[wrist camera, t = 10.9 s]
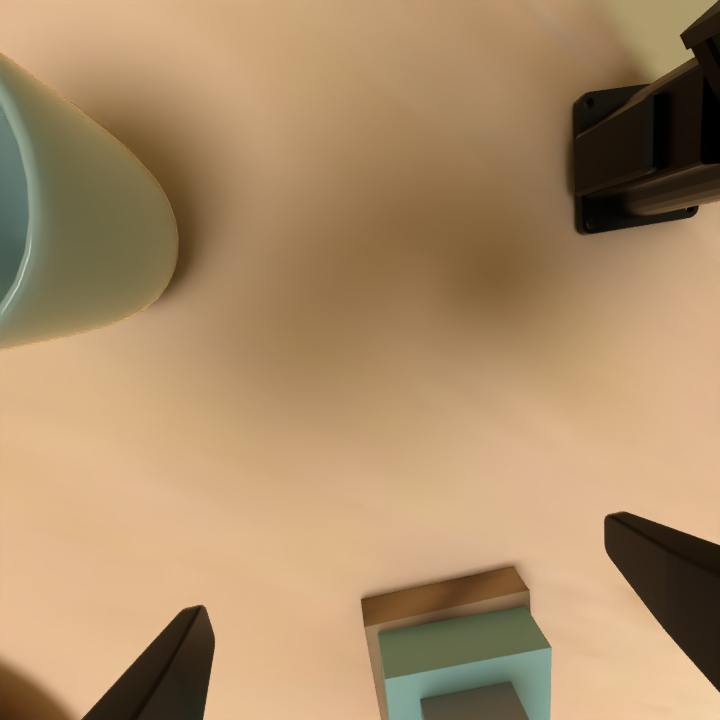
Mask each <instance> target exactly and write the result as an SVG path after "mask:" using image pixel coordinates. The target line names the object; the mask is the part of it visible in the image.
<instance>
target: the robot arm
mask: <svg viewBox="0 0 720 720" xmlns="http://www.w3.org/2000/svg"><path fill="white" fill-rule="evenodd" d="M680 37H681V39H682V41H683V43H684V45H685V47H686V49H687V50H688V49H690V48H691V49H692V51H693V53H694V55H695V57H694V58H692V59H690V60H689V61H687V62H686V63H684V64H682V65H681V66H679V67H677V68H676V69H674V70H673V71H671V72H669V73H668V74H666V75H664V76H663V77H661V78H660V79H658V80H656V81H655V82H653V83H652V84H644V85H637V86H630V87H622V88H615V89H608V90H600V91H593V92H588V93H585V94H584V95H583V96H581V97H580V98H579V99H578V100H577V101H576V102H575V104H574V139H575V141H574V157H575V192H576V215H577V230H578V232H579V233H580V234H582V235H589V234H595V233H601V232H607V231H613V230H619V229H625V228H631V227H638V226H644V225H650V224H656V223H662V222H668V221H674V220H680V219H686V218H690V217H693V216H694V215H695V214H696V213H697V211H698V207H699V205H702V204H706V203H711V202H716V201H720V0H719V1H717V2H716V3H715V4H714V5H713V6H712V7H711V8H710V9H709V10H707V11H706V12H705V13H704V14H703V15H702V16H701V17H700V18H699V19H697V20H696V21H695V22H694V23H693V24H692V25H691V26H690V27H688V28H687V29H686V30H685V31H684V32H683V33H682V34H681V35H680ZM585 102H586V103H587V104H588V109H586V108H585V106H584V103H585ZM685 208H687V210H686V209H685ZM587 221H589V222H590V227H589V228H588V227H587ZM604 544H605V549H606V552H607V554H608V556H609V557H610V559H611V560H612V561H613V563H614V564H615V565H616V567H617V568H618V569H619V571H620V572H621V573H622V575H623V576H624V577H625V579H626V580H627V581H628V583H629V584H630V585H631V587H632V588H633V589H634V590H635V592H636V593H637V594H638V596H639V597H640V598H641V600H642V601H643V602H644V604H645V605H646V606H647V608H648V609H649V610H650V612H651V613H652V614H653V616H654V617H655V618H656V619H657V621H658V622H659V623H660V624H661V626H662V627H663V628H664V629H665V631H666V632H667V633H668V634H669V635H670V637H671V638H672V639H673V640H674V641H675V642H676V644H677V645H678V646H679V647H680V648H681V649H682V650H683V651H684V653H685V654H686V655H687V656H688V657H689V658H690V659H691V661H692V662H693V663H694V664H695V665H696V666H697V667H698V669H699V670H700V671H701V672H702V673H703V674H704V675H705V676H706V678H707V679H708V680H709V681H710V682H711V683H712V684H713V686H714V687H715V688H716V689H717V690H718V691H719V692H720V545H718V544H715V543H712V542H709V541H707V540H704V539H701V538H698V537H695V536H693V535H690V534H687V533H684V532H681V531H678V530H676V529H673V528H670V527H667V526H664V525H662V524H659V523H656V522H653V521H650V520H648V519H645V518H642V517H639V516H636V515H634V514H631V513H628V512H617V513H612V514H608V515H607V516H606V517H605V519H604ZM214 649H215V637H214V632H213V629H212V626H211V623H210V619H209V616H208V613H207V610H206V608H205V607H204V606H203V605H197V606H193V607H188V608H185V609H183V610H182V611H181V612H179V614H178V615H177V616H176V617H175V618H174V619H173V620H172V621H171V622H170V623H169V624H168V626H167V627H166V628H165V629H164V630H163V631H162V632H161V633H160V634H159V635H158V636H157V638H156V639H155V640H154V641H153V642H152V643H151V644H150V645H149V646H148V647H147V648H146V650H145V651H144V652H143V653H142V654H141V655H140V656H139V657H138V658H137V659H136V660H135V662H134V663H133V664H132V665H131V666H130V667H129V668H128V669H127V670H126V671H125V672H124V674H123V675H122V676H121V677H120V678H119V679H118V680H117V681H116V682H115V683H114V685H113V686H112V687H111V688H110V689H109V690H108V691H107V692H106V693H105V694H104V695H103V697H102V698H101V699H100V700H99V701H98V702H97V703H96V704H95V705H94V706H93V707H92V709H91V710H90V711H89V712H88V713H87V714H86V715H85V716H84V717H83V718H82V719H81V720H203V717H204V710H205V704H206V698H207V692H208V686H209V680H210V673H211V667H212V661H213V655H214Z"/></svg>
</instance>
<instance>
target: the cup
mask: <svg viewBox="0 0 720 720" xmlns="http://www.w3.org/2000/svg"><path fill="white" fill-rule="evenodd" d="M178 253H179V235H178V228H177V222H176V218H175V215H174V212H173V209H172V206H171V204H170V201H169V199H168V197H167V196H166V194H165V192H164V190H163V189H162V187H161V185H160V184H159V182H158V181H157V179H156V178H155V177H154V176H153V175H152V173H151V172H150V171H149V170H148V169H147V168H146V167H145V166H144V165H143V164H142V162H141V161H140V160H139V159H138V158H137V157H136V156H135V155H134V154H133V153H132V152H131V151H130V150H129V149H128V148H127V147H126V146H125V145H124V144H123V143H121V142H120V141H119V140H118V139H117V138H115V137H114V136H113V135H112V134H111V133H109V132H108V131H107V130H106V129H104V128H103V127H102V126H101V125H99V124H98V123H97V122H95V121H94V120H93V119H92V118H90V117H89V116H88V115H86V114H85V113H84V112H82V111H81V110H80V109H78V108H77V107H76V106H74V105H73V104H72V103H70V102H69V101H68V100H66V99H65V98H64V97H62V96H61V95H60V94H58V93H57V92H56V91H54V90H53V89H52V88H50V87H49V86H48V85H46V84H45V83H44V82H42V81H41V80H40V79H38V78H37V77H36V76H34V75H33V74H31V73H30V72H29V71H27V70H26V69H25V68H23V67H22V66H21V65H19V64H18V63H16V62H15V61H14V60H12V59H11V58H10V57H8V56H7V55H6V54H4V53H3V52H1V51H0V351H3V350H8V349H13V348H18V347H23V346H28V345H33V344H38V343H43V342H47V341H52V340H57V339H61V338H65V337H69V336H74V335H78V334H82V333H85V332H89V331H93V330H97V329H101V328H104V327H108V326H111V325H114V324H117V323H120V322H122V321H124V320H126V319H128V318H130V317H132V316H134V315H136V314H138V313H140V312H142V311H144V310H145V309H147V308H148V307H149V306H150V305H151V304H153V303H154V302H155V301H156V300H157V299H158V298H159V297H160V296H161V295H162V293H163V292H164V290H165V289H166V287H167V286H168V284H169V283H170V281H171V278H172V276H173V273H174V271H175V268H176V263H177V258H178Z"/></svg>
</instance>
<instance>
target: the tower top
mask: <svg viewBox="0 0 720 720" xmlns="http://www.w3.org/2000/svg"><path fill="white" fill-rule="evenodd" d="M378 640H379V649H380V658H381V667H382V676H383V685H384V695H385V704H386V713H387V720H422V716H421V705H420V700H422V699H427V698H432V697H436V696H441V695H446V694H451V693H456V692H461V691H465V690H470V689H475V688H480V687H485V686H490V685H494V684H499V683H504V682H509V681H511V683H512V685H513V687H514V689H515V691H516V693H517V695H518V697H519V699H520V701H521V703H522V705H523V707H524V709H525V712H526V714H527V716H528V718H529V720H550V700H551V650H552V647H551V646H550V644H549V643H548V641H547V639H546V638H545V636H544V635H543V633H542V631H541V630H540V628H539V627H538V625H537V624H536V622H535V620H534V619H533V617H532V616H531V614H530V613H529V611H528V609H527V608H526V606H522V607H517V608H511V609H506V610H500V611H495V612H489V613H484V614H478V615H473V616H467V617H462V618H456V619H451V620H445V621H440V622H434V623H429V624H423V625H418V626H413V627H407V628H402V629H396V630H391V631H385V632H380V633H378Z"/></svg>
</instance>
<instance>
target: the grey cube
mask: <svg viewBox="0 0 720 720" xmlns="http://www.w3.org/2000/svg"><path fill="white" fill-rule="evenodd" d="M420 705H421V716H422V720H529V718H528V716H527V714H526V712H525V709H524V707H523V705H522V703H521V701H520V699H519V697H518V695H517V693H516V691H515V689H514V687H513V685H512V683H511V681H509V682H504V683H499V684H494V685H490V686H485V687H480V688H475V689H470V690H465V691H461V692H456V693H451V694H446V695H441V696H436V697H432V698H427V699H422V700H420Z"/></svg>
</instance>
